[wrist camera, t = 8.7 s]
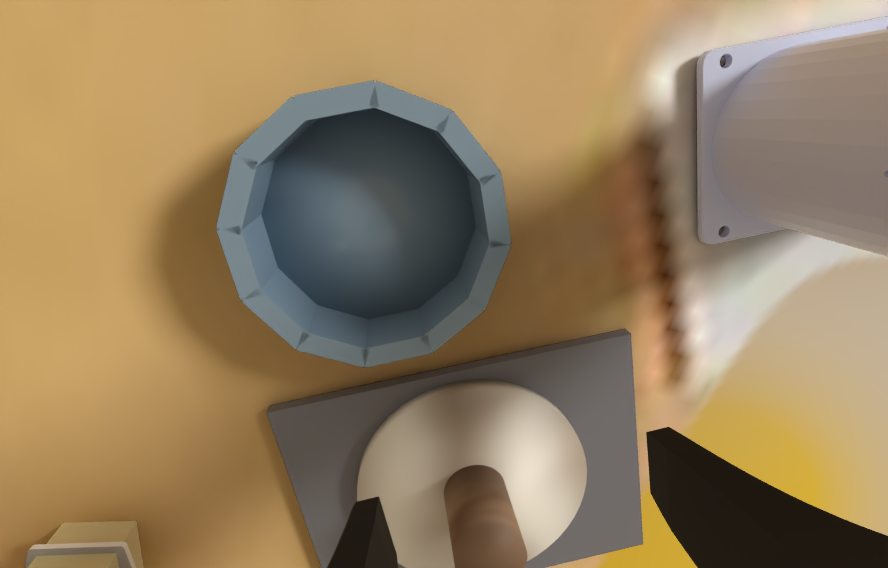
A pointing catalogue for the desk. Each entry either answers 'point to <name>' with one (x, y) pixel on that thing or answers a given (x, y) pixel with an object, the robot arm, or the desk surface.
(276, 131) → the bowl
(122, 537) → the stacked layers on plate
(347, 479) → the mat
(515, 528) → the lid
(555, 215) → the desk surface
